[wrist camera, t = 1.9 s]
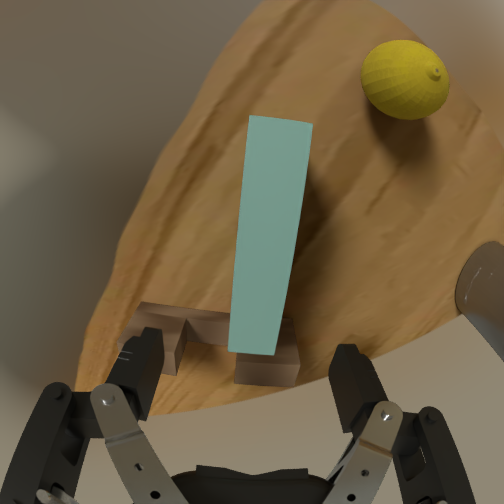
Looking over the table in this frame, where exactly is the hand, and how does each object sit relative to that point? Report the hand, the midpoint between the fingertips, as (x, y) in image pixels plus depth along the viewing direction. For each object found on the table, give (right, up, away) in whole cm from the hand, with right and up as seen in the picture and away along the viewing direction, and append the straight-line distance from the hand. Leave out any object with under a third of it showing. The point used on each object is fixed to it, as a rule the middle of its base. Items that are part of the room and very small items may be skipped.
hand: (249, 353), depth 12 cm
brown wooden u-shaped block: (-3, -2, +13) cm, 14 cm away
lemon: (+10, +17, +5) cm, 21 cm away
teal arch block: (+1, +8, +9) cm, 12 cm away
